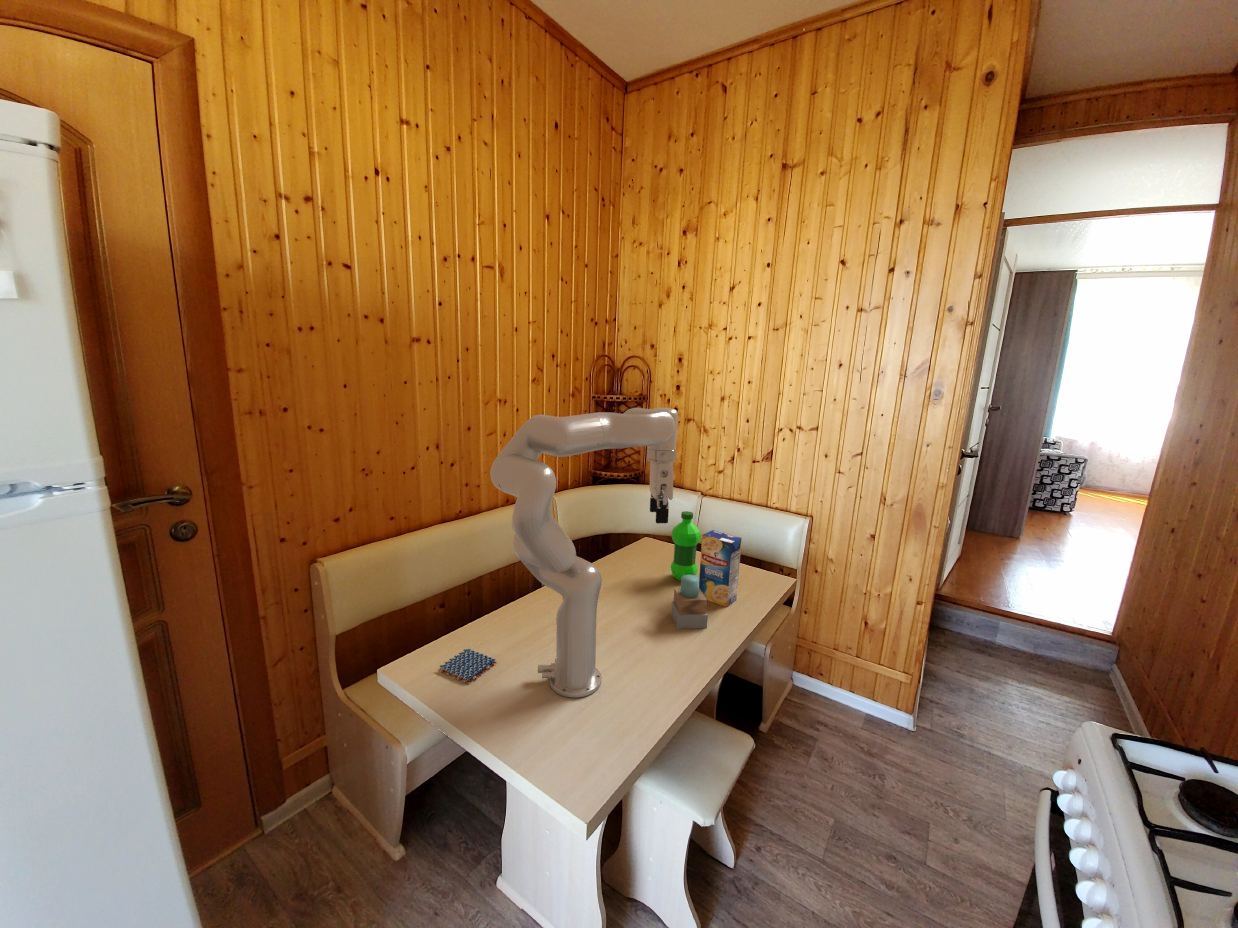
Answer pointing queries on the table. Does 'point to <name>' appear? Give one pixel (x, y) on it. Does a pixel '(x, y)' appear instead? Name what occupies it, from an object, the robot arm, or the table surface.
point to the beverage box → (719, 567)
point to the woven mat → (468, 665)
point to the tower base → (689, 619)
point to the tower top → (690, 603)
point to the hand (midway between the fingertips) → (658, 517)
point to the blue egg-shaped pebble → (689, 586)
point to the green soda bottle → (685, 546)
